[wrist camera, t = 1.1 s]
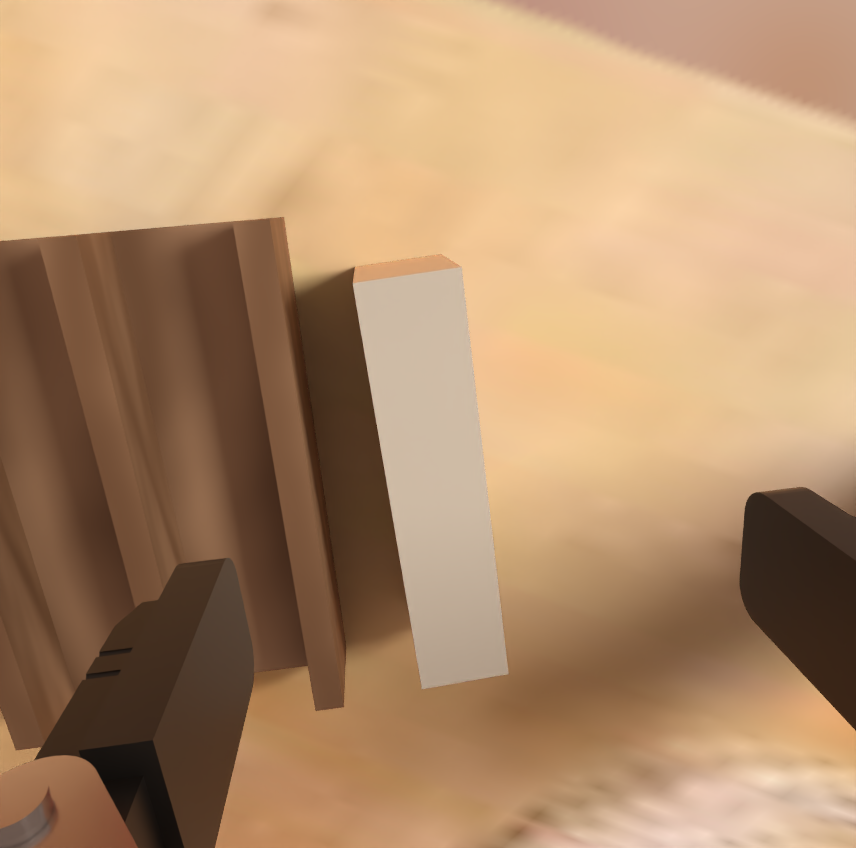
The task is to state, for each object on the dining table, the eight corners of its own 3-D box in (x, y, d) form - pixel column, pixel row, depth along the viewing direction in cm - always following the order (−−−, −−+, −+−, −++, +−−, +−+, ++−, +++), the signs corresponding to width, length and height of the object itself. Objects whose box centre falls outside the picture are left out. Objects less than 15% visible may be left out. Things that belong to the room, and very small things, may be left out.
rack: (283, 217, 25) (269, 219, 21) (346, 647, 32) (343, 706, 28) (-83, 248, 24) (-165, 256, 21) (58, 683, 31) (16, 750, 27)
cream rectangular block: (440, 253, 26) (461, 266, 21) (482, 590, 32) (508, 674, 26) (355, 266, 26) (352, 283, 21) (411, 602, 31) (422, 689, 26)
